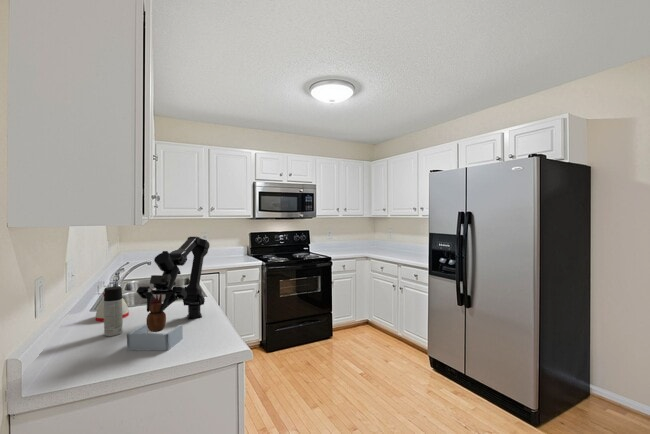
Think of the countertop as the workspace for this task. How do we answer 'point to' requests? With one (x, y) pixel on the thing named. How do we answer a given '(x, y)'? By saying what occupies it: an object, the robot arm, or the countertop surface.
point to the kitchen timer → (101, 310)
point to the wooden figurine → (156, 315)
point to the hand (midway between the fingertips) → (154, 311)
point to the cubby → (153, 339)
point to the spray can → (113, 311)
